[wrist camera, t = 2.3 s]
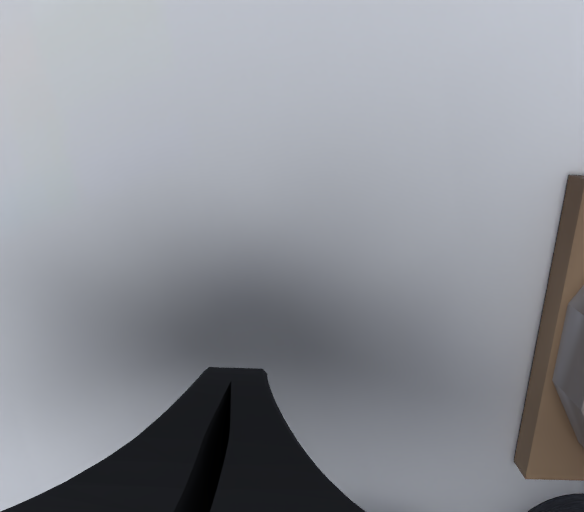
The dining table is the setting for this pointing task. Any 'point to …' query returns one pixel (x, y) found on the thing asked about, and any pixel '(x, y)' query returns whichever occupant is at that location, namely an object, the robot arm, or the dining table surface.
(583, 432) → the mount
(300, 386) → the dining table surface
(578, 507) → the lens
